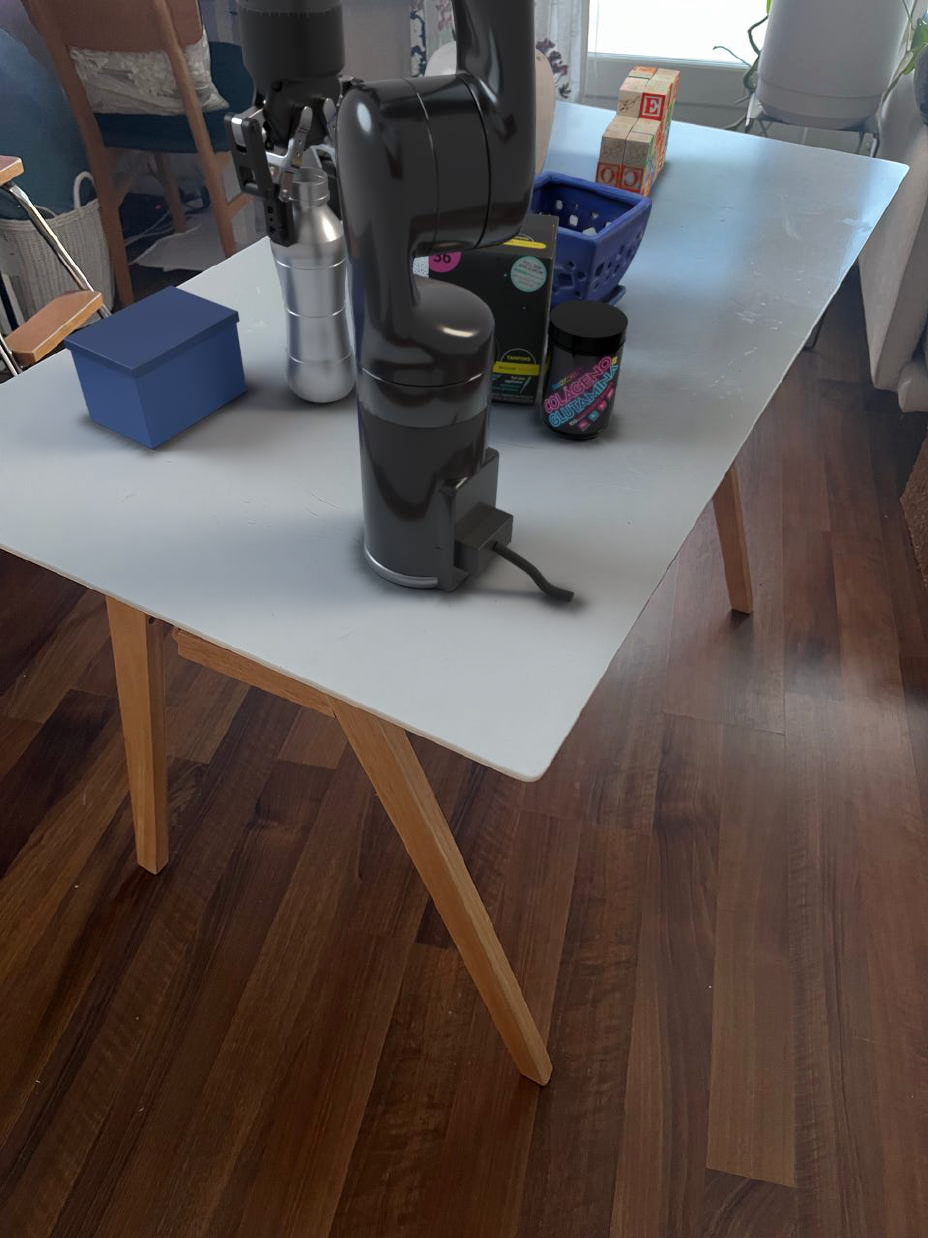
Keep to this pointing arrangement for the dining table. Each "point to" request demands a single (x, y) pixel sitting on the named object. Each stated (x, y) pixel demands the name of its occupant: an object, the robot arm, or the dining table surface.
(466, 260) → the tampon box
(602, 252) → the flower pot
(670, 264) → the dining table surface
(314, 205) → the silver water bottle
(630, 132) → the stack of blocks
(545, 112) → the vase
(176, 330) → the blue box
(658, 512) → the dining table surface
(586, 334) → the supplement container
